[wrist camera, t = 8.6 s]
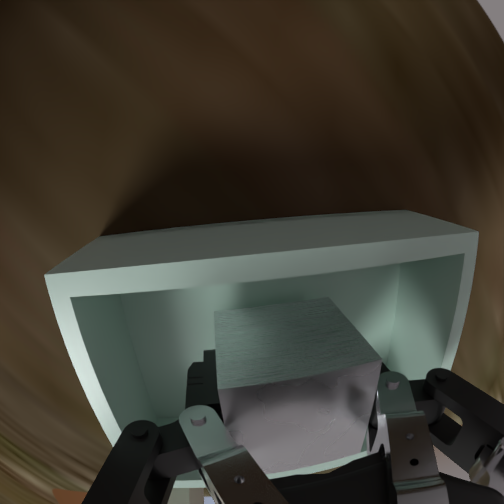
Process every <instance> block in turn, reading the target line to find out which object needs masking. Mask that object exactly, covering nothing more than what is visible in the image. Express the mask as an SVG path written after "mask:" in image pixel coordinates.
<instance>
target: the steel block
mask: <svg viewBox="0 0 504 504" xmlns="http://www.w3.org/2000/svg"><path fill="white" fill-rule="evenodd" d="M214 328H215V351H216V370H217V388H218V394H219V399H220V405H221V410H222V415H223V420H224V425H225V427H226V428H227V430H228V431H229V433H230V434H231V436H232V437H233V439H234V440H235V442H236V443H237V444H238V445H243V446H244V447H245V448H246V449H247V450H248V452H249V453H250V455H251V456H252V457H253V459H254V460H255V461H256V463H257V464H258V465H259V467H260V468H261V469H262V471H263V472H264V473H265V474H273V473H279V472H284V471H290V470H295V469H300V468H304V467H309V466H313V465H318V464H322V463H326V462H330V461H334V460H337V459H341V458H344V457H348V456H351V455H355V454H358V453H360V452H361V448H362V445H363V441H364V438H365V434H366V431H367V427H368V423H369V419H370V415H371V411H372V407H373V403H374V399H375V394H376V390H377V385H378V380H379V375H380V370H381V365H382V358H381V357H380V356H379V354H378V353H377V352H376V351H375V350H374V349H373V347H372V346H371V345H370V344H369V343H368V342H367V340H366V339H365V338H364V337H363V336H362V335H361V333H360V332H359V331H358V330H357V329H356V328H355V326H354V325H353V324H352V323H351V322H350V321H349V320H348V318H347V317H346V316H345V315H344V314H343V313H342V312H341V310H340V309H339V308H338V307H337V306H336V305H335V304H334V302H333V301H332V300H331V299H330V298H329V297H323V298H317V299H310V300H303V301H296V302H288V303H281V304H273V305H266V306H257V307H249V308H241V309H232V310H223V311H214Z"/></svg>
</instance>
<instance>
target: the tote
mask: <svg viewBox="0 0 504 504" xmlns="http://www.w3.org/2000/svg"><path fill="white" fill-rule="evenodd" d="M478 236H479V231H476V230H473V229H470V228H467V227H463V226H460V225H457V224H454V223H451V222H447V221H444V220H441V219H437V218H434V217H430V216H427V215H423V214H420V213H416V212H413V211H409V210H392V211H373V212H356V213H340V214H325V215H310V216H297V217H284V218H272V219H260V220H248V221H237V222H226V223H216V224H205V225H195V226H186V227H176V228H167V229H158V230H149V231H140V232H132V233H123V234H115V235H107V236H99V237H98V238H96V239H95V240H93V241H92V242H90V243H89V244H87V245H86V246H84V247H83V248H81V249H80V250H78V251H77V252H75V253H74V254H73V255H71V256H70V257H68V258H67V259H65V260H64V261H63V262H61V263H60V264H58V265H57V266H56V267H54V268H53V269H51V270H50V271H49V272H47V273H46V274H45V275H44V276H45V280H46V284H47V288H48V292H49V295H50V299H51V302H52V306H53V309H54V312H55V315H56V319H57V322H58V325H59V328H60V331H61V334H62V336H63V339H64V342H65V345H66V348H67V350H68V353H69V356H70V358H71V361H72V363H73V366H74V368H75V371H76V373H77V375H78V378H79V380H80V382H81V385H82V387H83V389H84V391H85V393H86V396H87V398H88V400H89V402H90V404H91V406H92V408H93V410H94V412H95V414H96V416H97V418H98V420H99V422H100V424H101V426H102V428H103V430H104V431H105V433H106V435H107V437H108V439H109V440H110V442H111V444H112V446H113V447H114V445H115V443H116V442H117V440H118V438H119V436H120V435H121V433H122V431H123V429H124V428H125V427H126V426H127V425H128V424H130V423H131V422H134V421H137V420H148V421H151V422H153V423H155V424H156V425H157V426H158V427H160V426H163V425H167V424H170V423H173V422H175V421H177V420H178V419H179V416H180V414H181V413H182V412H183V411H184V410H185V401H186V386H187V372H188V369H189V367H190V366H191V364H192V363H193V362H202V361H203V351H204V350H212V349H215V328H214V311H223V310H232V309H241V308H249V307H257V306H266V305H273V304H281V303H288V302H296V301H303V300H310V299H317V298H323V297H329V298H330V299H331V300H332V301H333V302H334V304H335V305H336V306H337V307H338V308H339V309H340V310H341V312H342V313H343V314H344V315H345V316H346V317H347V318H348V320H349V321H350V322H351V323H352V324H353V325H354V326H355V328H356V329H357V330H358V331H359V332H360V333H361V335H362V336H363V337H364V338H365V339H366V340H367V342H368V343H369V344H370V345H371V346H372V347H373V349H374V350H375V351H376V352H377V353H378V354H379V356H380V357H381V358H382V362H383V363H384V364H385V365H386V367H387V368H388V369H389V370H390V371H394V372H399V373H402V374H403V375H405V376H406V377H407V378H408V380H420V379H425V378H426V374H427V373H428V371H430V370H431V369H434V368H445V369H448V370H451V367H452V364H453V361H454V357H455V354H456V351H457V347H458V344H459V340H460V336H461V332H462V329H463V324H464V320H465V316H466V312H467V307H468V302H469V297H470V292H471V287H472V281H473V275H474V269H475V262H476V254H477V246H478ZM365 456H367V441H366V434H365V438H364V441H363V445H362V448H361V452H360V453H358V454H355V455H351V456H348V457H344V458H341V459H337V460H334V461H330V462H326V463H322V464H318V465H313V466H309V467H304V468H300V469H295V470H290V471H284V472H279V473H273V474H266V476H267V477H268V478H269V479H274V478H280V477H285V476H291V475H296V474H310V473H315V472H319V471H323V470H327V469H331V468H335V467H339V466H342V465H345V464H347V463H349V462H351V461H353V460H355V459H359V458H362V457H365ZM203 487H206V486H205V484H204V482H203V480H202V478H201V476H200V475H199V473H198V471H197V470H194V471H191V472H188V473H185V474H181V475H178V476H177V477H176V480H175V483H174V486H173V488H203Z"/></svg>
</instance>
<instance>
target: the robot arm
mask: <svg viewBox="0 0 504 504" xmlns="http://www.w3.org/2000/svg"><path fill="white" fill-rule="evenodd" d="M445 408H448V409H449V410H451V411H452V412H453V413H455V414H456V415H458V416H459V417H460V418H461V419H462V422H463V425H462V426H461V425H459V424H458V423H457V422H455V421H454V420H452V419H451V418H450V417H448V416H447V415H446V414H444V410H445ZM366 441H367V456H365V457H362V458H359V459H355V460H353V461H351V462H349V463H347V464H345V465H343V466H342V467H340V468H338V469H336V470H334V471H332V472H330V473H326V474H296V475H291V476H285V477H280V478H274V479H269V478H268V477H267V476H266V474H265V473H264V472H263V471H262V469H261V468H260V467H259V465H258V464H257V463H256V461H255V460H254V459H253V457H252V456H251V455H250V453H249V452H248V450H247V449H246V448H245V447H244V446H243V445H238V444H237V443H236V442H235V440H234V439H233V437H232V436H231V434H230V433H229V431H228V430H227V428H226V427H225V425H224V420H223V415H222V410H221V405H220V399H219V394H218V388H217V370H216V351H215V349H212V350H204V351H203V361H202V362H193V363H192V364H191V366H190V367H189V369H188V372H187V386H186V401H185V410H184V411H183V412H182V413H181V414H180V416H179V419H178V420H177V421H175V422H173V423H170V424H167V425H163V426H160V427H158V426H157V425H156V424H155V423H153V422H151V421H148V420H137V421H134V422H131V423H130V424H128V425H127V426H126V427H125V428H124V429H123V431H122V433H121V435H120V436H119V438H118V440H117V442H116V443H115V445H114V447H113V449H112V450H111V452H110V454H109V456H108V457H107V459H106V461H105V463H104V464H103V466H102V468H101V470H100V472H99V473H98V475H97V477H96V479H95V480H94V482H93V484H92V486H91V488H90V489H89V491H88V493H87V495H86V497H85V498H84V501H83V502H82V504H167V503H168V500H169V497H170V494H171V492H172V489H173V486H174V483H175V480H176V477H177V476H178V475H181V474H185V473H188V472H191V471H194V470H197V471H198V473H199V475H200V476H201V478H202V480H203V482H204V484H205V486H206V488H207V489H208V491H209V493H210V495H211V496H212V498H213V500H214V502H215V504H504V404H502V403H501V402H499V401H497V400H496V399H494V398H493V397H491V396H489V395H488V394H486V393H485V392H483V391H482V390H480V389H478V388H477V387H475V386H474V385H472V384H470V383H469V382H467V381H466V380H464V379H463V378H461V377H459V376H458V375H456V374H455V373H453V372H451V371H450V370H448V369H445V368H434V369H431V370H430V371H428V373H427V374H426V378H425V379H420V380H408V378H407V377H406V376H405V375H403V374H402V373H399V372H394V371H390V370H389V369H388V368H387V367H386V365H385V364H384V363H383V362H382V365H381V370H380V375H379V380H378V385H377V390H376V394H375V399H374V403H373V407H372V411H371V415H370V419H369V423H368V427H367V431H366ZM433 445H434V446H435V447H436V448H438V449H439V450H440V451H441V452H443V453H444V454H445V455H446V456H447V457H449V458H450V459H451V460H452V461H454V462H455V463H456V464H457V465H459V466H460V467H461V468H462V469H463V470H465V471H466V472H467V473H468V474H469V477H470V480H471V481H470V482H469V481H466V480H462V479H459V478H456V477H453V476H450V475H447V474H444V473H441V472H439V471H438V467H437V462H436V457H435V453H434V449H433Z"/></svg>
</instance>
